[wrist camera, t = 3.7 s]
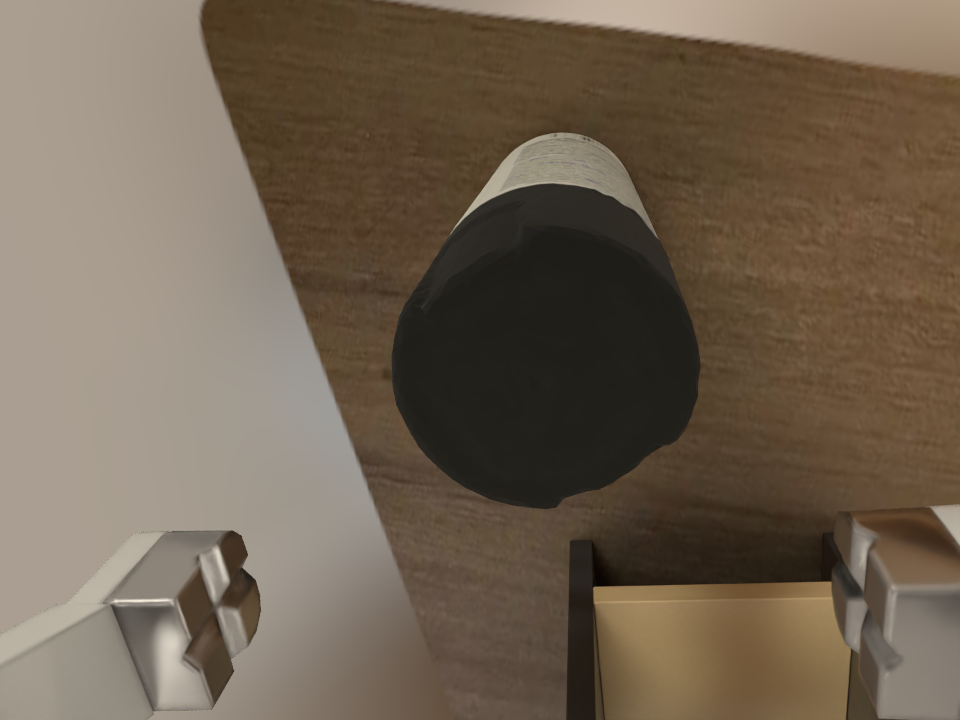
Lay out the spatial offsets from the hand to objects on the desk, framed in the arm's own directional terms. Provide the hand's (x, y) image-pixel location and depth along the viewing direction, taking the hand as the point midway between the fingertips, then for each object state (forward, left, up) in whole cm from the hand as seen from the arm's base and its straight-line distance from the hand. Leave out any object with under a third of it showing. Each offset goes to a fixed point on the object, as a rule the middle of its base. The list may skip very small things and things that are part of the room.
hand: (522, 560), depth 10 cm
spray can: (0, 0, -26) cm, 26 cm away
